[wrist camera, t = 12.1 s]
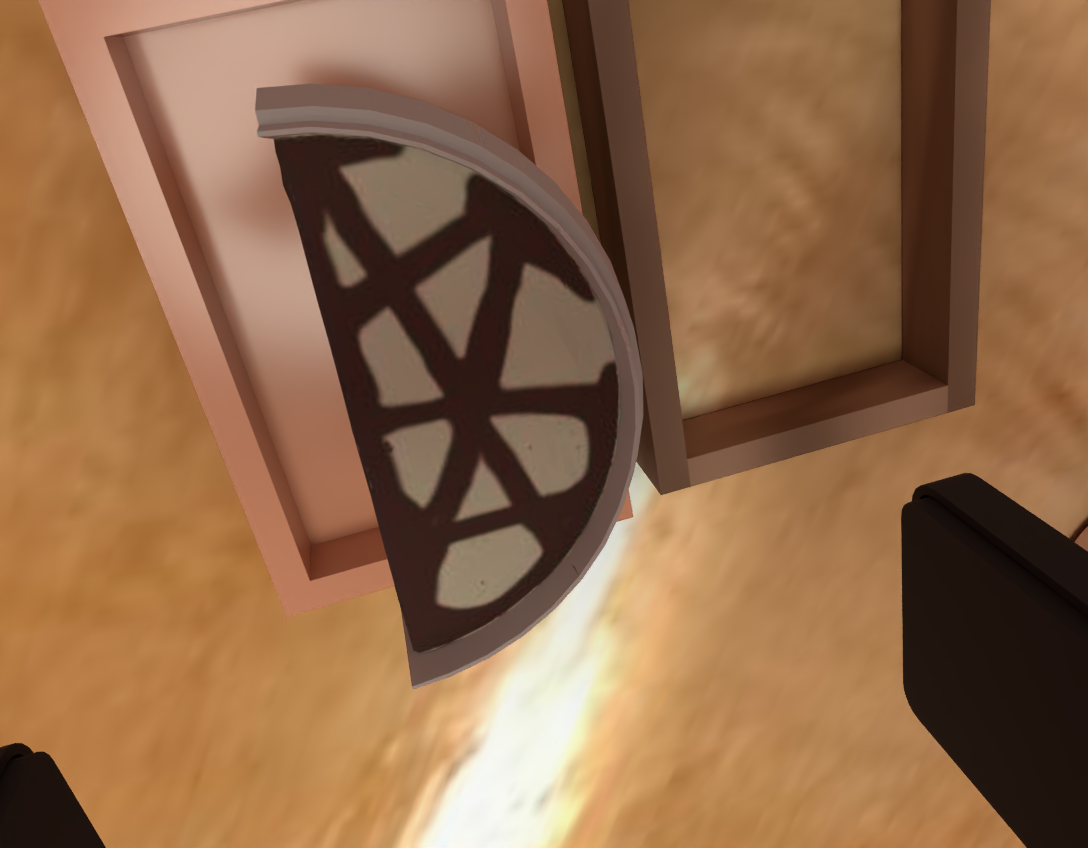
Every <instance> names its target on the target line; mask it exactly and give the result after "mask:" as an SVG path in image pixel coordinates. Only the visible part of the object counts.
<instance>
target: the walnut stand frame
mask: <svg viewBox="0 0 1088 848" xmlns="http://www.w3.org/2000/svg"><path fill="white" fill-rule="evenodd" d="M563 6H564V13H565V19H566V25H567V31H568V38H569V44H570V50H571V57H572V63H573V69H574V75H575V82H576V88H577V94H578V100H579V107H580V113H581V119H582V125H583V132H584V138H585V144H586V151H587V157H588V163H589V169H590V176H591V182H592V188H593V194H594V201H595V207H596V213H597V220H598V226H599V232H600V238H601V245H602V247H603V249H604V251H605V252H606V254H607V256H608V258H609V259H610V261H611V264H612V266H613V269H614V272H615V274H616V277H617V280H618V282H619V285H620V288H621V290H622V293H623V296H624V298H625V301H626V304H627V307H628V310H629V314H630V317H631V320H632V323H633V326H634V330H635V335H636V341H637V346H638V351H639V357H640V362H641V367H642V373H643V421H642V428H641V435H640V442H639V449H638V456H637V460H636V461H637V463H638V464H639V465H640V467H641V468H642V470H643V471H644V472H645V474H646V475H647V476H648V478H649V479H650V481H651V482H652V483H653V485H654V486H655V488H656V489H657V490H658V492H659V493H660V494H661V495H663V494H667V493H670V492H673V491H677V490H680V489H684V488H687V487H691V486H694V485H698V484H701V483H705V482H708V481H712V480H715V479H719V478H722V477H726V476H729V475H733V474H736V473H740V472H743V471H747V470H750V469H754V468H757V467H761V466H764V465H767V464H771V463H774V462H778V461H781V460H785V459H788V458H792V457H795V456H799V455H802V454H806V453H809V452H813V451H816V450H820V449H823V448H827V447H830V446H834V445H837V444H841V443H844V442H848V441H851V440H855V439H858V438H862V437H865V436H868V435H872V434H875V433H879V432H882V431H886V430H889V429H893V428H896V427H900V426H903V425H907V424H910V423H914V422H917V421H921V420H924V419H928V418H931V417H935V416H938V415H942V414H945V413H949V412H952V411H956V410H959V409H963V408H966V407H969V406H973V405H975V385H976V360H977V335H978V310H979V285H980V259H981V234H982V209H983V184H984V158H985V133H986V108H987V83H988V58H989V32H990V7H991V0H902V360H900V361H897V362H893V363H889V364H886V365H882V366H878V367H875V368H871V369H868V370H864V371H860V372H857V373H853V374H850V375H846V376H842V377H839V378H835V379H832V380H828V381H824V382H821V383H817V384H814V385H810V386H806V387H803V388H799V389H795V390H792V391H788V392H785V393H781V394H777V395H774V396H770V397H767V398H763V399H759V400H756V401H752V402H749V403H745V404H741V405H738V406H734V407H730V408H727V409H723V410H720V411H716V412H712V413H709V414H705V415H702V416H698V417H694V418H691V419H687V420H684V421H682V415H681V407H680V399H679V392H678V384H677V376H676V368H675V361H674V353H673V345H672V337H671V330H670V322H669V314H668V306H667V299H666V291H665V283H664V275H663V268H662V260H661V252H660V244H659V237H658V229H657V221H656V213H655V206H654V198H653V190H652V182H651V175H650V167H649V159H648V151H647V144H646V136H645V128H644V121H643V113H642V105H641V97H640V90H639V82H638V74H637V66H636V59H635V51H634V43H633V35H632V28H631V20H630V12H629V4H628V0H563Z"/></svg>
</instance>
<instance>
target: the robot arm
mask: <svg viewBox="0 0 1088 848" xmlns="http://www.w3.org/2000/svg"><path fill="white" fill-rule="evenodd" d="M901 532H902V617H903V685H904V691H905V695H906V698H907V700H908V703H909V705H910V707H911V709H912V711H913V712H914V714H915V715H916V717H917V718H918V719H919V720H920V722H921V723H922V724H923V725H924V726H925V728H926V729H927V730H928V731H929V732H930V733H931V735H932V736H933V737H934V738H935V739H936V741H937V742H938V743H939V744H940V745H941V746H942V748H943V749H944V750H945V751H946V752H947V754H948V755H949V756H950V757H951V758H952V759H953V761H954V762H955V763H956V764H957V765H958V767H959V768H960V769H961V770H962V771H963V773H964V774H965V775H966V776H967V777H968V778H969V780H970V781H971V782H972V783H973V784H974V786H975V787H976V788H977V789H978V790H979V791H980V793H981V794H982V795H983V796H984V797H985V799H986V800H987V801H988V802H989V803H990V804H991V806H992V807H993V808H994V809H995V810H996V812H997V813H998V814H999V815H1000V816H1001V817H1002V819H1003V820H1004V821H1005V822H1006V823H1007V825H1008V826H1009V827H1010V828H1011V829H1012V830H1013V832H1014V833H1015V834H1016V835H1017V836H1018V838H1019V839H1020V840H1021V841H1022V842H1023V844H1024V845H1025V846H1026V847H1027V848H1088V526H1087V527H1086V528H1085V529H1084V530H1083V532H1082V533H1081V534H1080V535H1079V536H1078V538H1077V539H1076V540H1075V542H1073V541H1072V540H1070V539H1069V538H1067V537H1066V536H1064V535H1063V534H1061V533H1060V532H1059V531H1057V530H1056V529H1054V528H1053V527H1051V526H1050V525H1048V524H1047V523H1045V522H1044V521H1042V520H1041V519H1040V518H1038V517H1037V516H1035V515H1034V514H1032V513H1031V512H1029V511H1028V510H1026V509H1025V508H1023V507H1022V506H1020V505H1019V504H1018V503H1016V502H1015V501H1013V500H1012V499H1010V498H1009V497H1007V496H1006V495H1004V494H1003V493H1001V492H1000V491H998V490H997V489H996V488H994V487H993V486H991V485H990V484H988V483H987V482H985V481H984V480H982V479H981V478H979V477H978V476H976V475H973V474H971V473H963V474H960V475H956V476H953V477H949V478H946V479H942V480H938V481H935V482H931V483H928V484H924V485H921V486H919V487H918V488H916V489H915V491H914V494H913V497H912V502H909V503H907V504H905V505H904V507H903V509H902V515H901ZM0 848H106V847H105V846H104V844H103V842H102V841H101V839H100V837H99V836H98V834H97V832H96V831H95V829H94V827H93V826H92V824H91V822H90V821H89V819H88V817H87V816H86V814H85V812H84V811H83V809H82V807H81V805H80V804H79V802H78V800H77V799H76V797H75V795H74V794H73V792H72V790H71V789H70V787H69V785H68V784H67V782H66V780H65V779H64V777H63V775H62V774H61V772H60V770H59V769H58V767H57V765H56V764H55V762H54V760H53V759H52V758H51V757H50V755H49V754H47V753H45V752H36V753H33V752H32V750H31V749H30V748H29V747H28V746H26V745H24V744H22V743H14V744H10V745H7V746H3V747H0Z"/></svg>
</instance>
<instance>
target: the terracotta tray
mask: <svg viewBox="0 0 1088 848" xmlns="http://www.w3.org/2000/svg"><path fill="white" fill-rule="evenodd" d="M38 1H39V3H40V6H41V8H42V11H43V13H44V16H45V18H46V21H47V23H48V26H49V28H50V31H51V33H52V35H53V38H54V40H55V43H56V45H57V48H58V50H59V53H60V55H61V58H62V60H63V63H64V65H65V68H66V70H67V73H68V75H69V78H70V80H71V83H72V85H73V88H74V90H75V93H76V95H77V97H78V100H79V102H80V105H81V107H82V110H83V112H84V115H85V117H86V120H87V122H88V125H89V127H90V130H91V132H92V135H93V137H94V140H95V142H96V145H97V147H98V150H99V152H100V154H101V157H102V159H103V162H104V164H105V167H106V169H107V172H108V174H109V177H110V179H111V182H112V184H113V187H114V189H115V192H116V194H117V197H118V199H119V202H120V204H121V207H122V209H123V212H124V214H125V216H126V219H127V221H128V224H129V226H130V229H131V231H132V234H133V236H134V239H135V241H136V244H137V246H138V249H139V251H140V254H141V256H142V259H143V261H144V264H145V266H146V269H147V271H148V274H149V276H150V278H151V281H152V283H153V286H154V288H155V291H156V293H157V296H158V298H159V301H160V303H161V306H162V308H163V311H164V313H165V316H166V318H167V321H168V323H169V326H170V328H171V331H172V333H173V336H174V338H175V340H176V343H177V345H178V348H179V350H180V353H181V355H182V358H183V360H184V363H185V365H186V368H187V370H188V373H189V375H190V378H191V380H192V383H193V385H194V388H195V390H196V393H197V395H198V398H199V400H200V402H201V405H202V407H203V410H204V412H205V415H206V417H207V420H208V422H209V425H210V427H211V430H212V432H213V435H214V437H215V440H216V442H217V445H218V447H219V450H220V452H221V455H222V457H223V460H224V462H225V464H226V467H227V469H228V472H229V474H230V477H231V479H232V482H233V484H234V487H235V489H236V492H237V494H238V497H239V499H240V502H241V504H242V507H243V509H244V512H245V514H246V517H247V519H248V522H249V524H250V526H251V529H252V531H253V534H254V536H255V539H256V541H257V544H258V546H259V549H260V551H261V554H262V556H263V559H264V561H265V564H266V566H267V569H268V571H269V574H270V576H271V579H272V581H273V583H274V586H275V588H276V591H277V593H278V596H279V598H280V601H281V603H282V606H283V608H284V611H285V613H286V616H287V617H289V616H293V615H296V614H299V613H303V612H306V611H310V610H313V609H317V608H320V607H324V606H327V605H331V604H334V603H337V602H341V601H344V600H348V599H351V598H355V597H358V596H362V595H365V594H369V593H372V592H376V591H379V590H382V589H386V588H389V587H393V586H395V585H394V581H393V578H392V574H391V570H390V567H389V563H388V559H387V556H386V552H385V548H384V545H383V541H382V537H381V533H380V529H379V526H378V522H377V518H376V514H375V510H374V506H373V503H372V499H371V495H370V492H369V488H368V485H367V481H366V478H365V474H364V471H363V467H362V464H361V460H360V457H359V453H358V450H357V446H356V443H355V439H354V435H353V433H352V429H351V424H350V420H349V416H348V413H347V409H346V405H345V401H344V397H343V394H342V390H341V386H340V382H339V378H338V375H337V371H336V367H335V363H334V359H333V356H332V352H331V348H330V345H329V341H328V337H327V334H326V330H325V327H324V323H323V320H322V316H321V312H320V309H319V305H318V302H317V298H316V294H315V291H314V287H313V283H312V279H311V275H310V272H309V268H308V264H307V260H306V257H305V253H304V249H303V245H302V241H301V238H300V234H299V230H298V227H297V223H296V220H295V217H294V213H293V210H292V206H291V203H290V201H289V199H288V196H287V194H286V192H285V189H284V187H283V183H282V176H281V170H280V165H279V162H278V159H277V155H276V152H275V145H274V139H269V138H262V137H258V135H257V129H258V127H259V123H258V120H257V116H256V113H255V102H256V90H257V88H262V87H274V86H286V85H297V84H323V85H336V86H350V87H364V88H370V89H374V90H379V91H383V92H387V93H391V94H395V95H400V96H404V97H408V98H412V99H416V100H421V101H424V102H426V103H428V104H431V105H433V106H436V107H438V108H441V109H443V110H445V111H448V112H450V113H453V114H455V115H457V116H460V117H462V118H465V119H467V120H469V121H472V122H474V123H475V124H477V125H479V126H480V127H482V128H483V129H485V130H487V131H488V132H490V133H492V134H493V135H495V136H496V137H498V138H500V139H501V140H503V141H504V142H506V143H508V144H509V145H511V146H513V147H514V148H516V149H517V150H519V151H520V152H521V153H522V154H523V155H524V156H526V157H527V158H528V159H529V160H530V161H531V162H532V163H534V164H535V165H536V166H537V167H538V168H539V169H540V170H542V171H543V172H544V173H545V174H546V175H547V176H548V177H550V178H551V179H552V180H553V181H554V182H555V183H556V184H557V185H558V186H559V187H560V188H561V190H562V191H563V192H564V193H565V195H566V196H567V197H568V198H569V199H570V201H571V202H572V203H573V204H574V205H575V207H576V208H577V209H578V210H579V211H580V213H581V214H582V215H583V213H582V207H581V201H580V195H579V189H578V183H577V177H576V171H575V165H574V159H573V153H572V147H571V141H570V135H569V129H568V123H567V117H566V111H565V105H564V99H563V93H562V87H561V81H560V75H559V69H558V63H557V57H556V51H555V45H554V39H553V33H552V27H551V21H550V15H549V9H548V3H547V0H38ZM631 517H633V513H632V507H631V501H630V495H629V489H628V492H627V495H626V499H625V502H624V505H623V509H622V511H621V513H620V515H619V517H618V519H617V521H616V522H618V521H621V520H624V519H628V518H631Z"/></svg>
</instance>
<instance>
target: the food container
mask: <svg viewBox="0 0 1088 848" xmlns="http://www.w3.org/2000/svg"><path fill="white" fill-rule="evenodd" d="M255 113H256V116H257V120H258V123H259V127H258V129H257V135H258V137H262V138H269V139H274V145H275V152H276V155H277V159H278V162H279V165H280V170H281V176H282V183H283V187H284V189H285V192H286V194H287V196H288V199H289V201H290V203H291V206H292V210H293V213H294V217H295V220H296V223H297V227H298V230H299V234H300V238H301V241H302V245H303V249H304V253H305V257H306V260H307V264H308V268H309V272H310V275H311V279H312V283H313V287H314V291H315V294H316V298H317V302H318V305H319V309H320V312H321V316H322V320H323V323H324V327H325V330H326V334H327V337H328V341H329V345H330V348H331V352H332V356H333V359H334V363H335V367H336V371H337V375H338V378H339V382H340V386H341V390H342V394H343V397H344V401H345V405H346V409H347V413H348V416H349V420H350V424H351V429H352V433H353V435H354V439H355V443H356V446H357V450H358V453H359V457H360V460H361V464H362V467H363V471H364V474H365V478H366V481H367V485H368V488H369V492H370V495H371V499H372V503H373V506H374V510H375V514H376V518H377V522H378V526H379V529H380V533H381V537H382V541H383V545H384V548H385V552H386V556H387V559H388V563H389V567H390V570H391V574H392V578H393V581H394V585H395V589H396V592H397V596H398V600H399V603H400V607H401V612H402V619H403V626H404V633H405V640H406V647H407V654H408V661H409V668H410V675H411V682H412V688H413V689H416V688H419V687H422V686H425V685H427V684H430V683H433V682H436V681H439V680H442V679H445V678H448V677H451V676H453V675H455V674H457V673H459V672H461V671H463V670H465V669H467V668H470V667H472V666H474V665H476V664H478V663H480V662H482V661H484V660H486V659H488V658H490V657H491V656H493V655H495V654H496V653H498V652H499V651H501V650H502V649H504V648H505V647H507V646H508V645H510V644H511V643H513V642H515V641H516V640H518V639H519V638H521V637H522V636H524V635H525V634H526V633H527V632H529V631H530V630H531V629H532V628H533V627H534V626H536V625H537V624H538V623H539V622H540V621H541V620H543V619H544V618H545V617H546V616H547V615H549V614H550V613H551V612H552V611H553V610H554V609H555V608H556V607H557V606H558V605H559V604H560V603H561V602H562V601H563V600H564V598H565V597H566V596H567V595H568V594H569V593H570V592H571V591H572V590H573V588H574V587H575V586H576V585H577V584H578V583H579V582H580V581H581V580H582V578H583V577H584V575H585V574H586V572H587V571H588V570H589V568H590V567H591V565H592V564H593V562H594V561H595V559H596V558H597V556H598V555H599V553H600V552H601V550H602V549H603V547H604V546H605V544H606V542H607V540H608V538H609V536H610V534H611V532H612V529H613V527H614V525H615V523H616V521H617V519H618V517H619V515H620V513H621V511H622V509H623V505H624V502H625V499H626V495H627V492H628V489H629V485H630V482H631V479H632V476H633V472H634V468H635V463H636V460H637V456H638V449H639V442H640V435H641V428H642V421H643V373H642V367H641V362H640V357H639V351H638V346H637V341H636V335H635V330H634V326H633V323H632V320H631V317H630V314H629V310H628V307H627V304H626V301H625V298H624V296H623V293H622V290H621V288H620V285H619V282H618V280H617V277H616V274H615V272H614V269H613V266H612V264H611V261H610V259H609V258H608V256H607V254H606V252H605V251H604V249H603V247H602V246H601V244H600V242H599V240H598V239H597V237H596V235H595V233H594V232H593V230H592V228H591V227H590V225H589V223H588V221H587V220H586V219H585V218H584V216H583V215H582V214H581V213H580V211H579V210H578V209H577V208H576V207H575V205H574V204H573V203H572V202H571V201H570V199H569V198H568V197H567V196H566V195H565V193H564V192H563V191H562V190H561V188H560V187H559V186H558V185H557V184H556V183H555V182H554V181H553V180H552V179H551V178H550V177H548V176H547V175H546V174H545V173H544V172H543V171H542V170H540V169H539V168H538V167H537V166H536V165H535V164H534V163H532V162H531V161H530V160H529V159H528V158H527V157H526V156H524V155H523V154H522V153H521V152H520V151H519V150H517V149H516V148H514V147H513V146H511V145H509V144H508V143H506V142H504V141H503V140H501V139H500V138H498V137H496V136H495V135H493V134H492V133H490V132H488V131H487V130H485V129H483V128H482V127H480V126H479V125H477V124H475V123H474V122H472V121H469V120H467V119H465V118H462V117H460V116H457V115H455V114H453V113H450V112H448V111H445V110H443V109H441V108H438V107H436V106H433V105H431V104H428V103H426V102H424V101H421V100H416V99H412V98H408V97H404V96H400V95H395V94H391V93H387V92H383V91H379V90H374V89H370V88H364V87H350V86H336V85H323V84H297V85H286V86H274V87H262V88H257V90H256V102H255Z"/></svg>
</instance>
